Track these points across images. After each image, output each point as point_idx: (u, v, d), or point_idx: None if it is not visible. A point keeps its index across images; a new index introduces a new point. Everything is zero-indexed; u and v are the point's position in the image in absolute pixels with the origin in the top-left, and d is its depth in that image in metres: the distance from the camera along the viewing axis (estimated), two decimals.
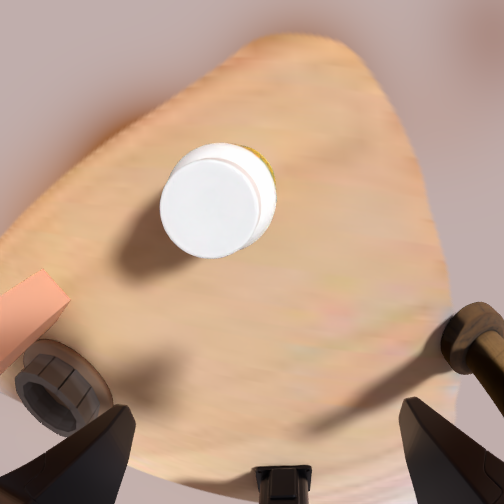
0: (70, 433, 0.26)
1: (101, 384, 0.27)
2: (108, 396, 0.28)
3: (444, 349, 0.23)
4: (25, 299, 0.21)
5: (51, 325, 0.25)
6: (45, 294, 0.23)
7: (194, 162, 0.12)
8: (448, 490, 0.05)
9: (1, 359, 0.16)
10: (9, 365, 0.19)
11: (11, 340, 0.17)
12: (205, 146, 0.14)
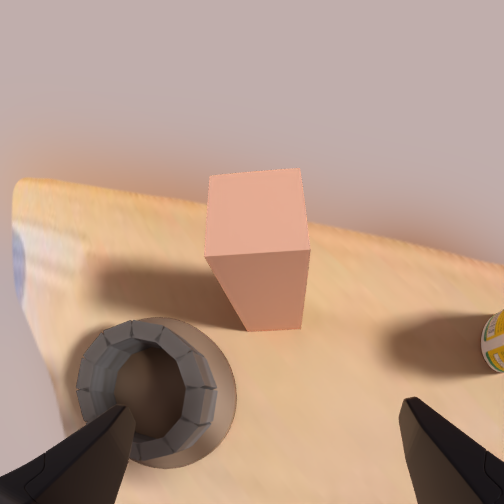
0: None
1: (227, 431, 0.20)
2: (214, 448, 0.19)
3: None
4: None
5: (249, 328, 0.23)
6: None
7: None
8: (448, 490, 0.05)
9: (306, 276, 0.14)
10: (232, 298, 0.17)
11: None
12: None
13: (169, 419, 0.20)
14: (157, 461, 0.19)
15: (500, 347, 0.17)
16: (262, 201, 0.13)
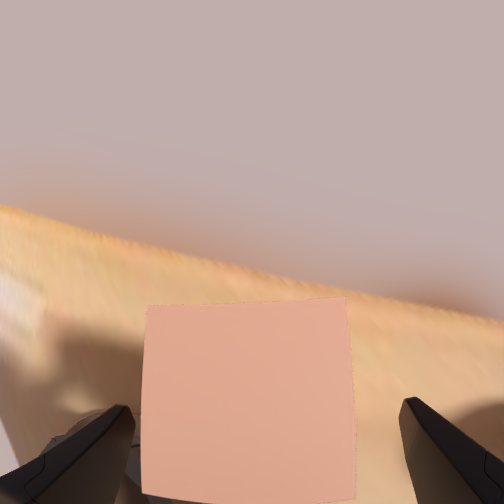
0: None
1: None
2: None
3: None
4: None
5: None
6: None
7: None
8: (448, 490, 0.05)
9: None
10: None
11: None
12: None
13: None
14: None
15: None
16: (258, 388, 0.05)
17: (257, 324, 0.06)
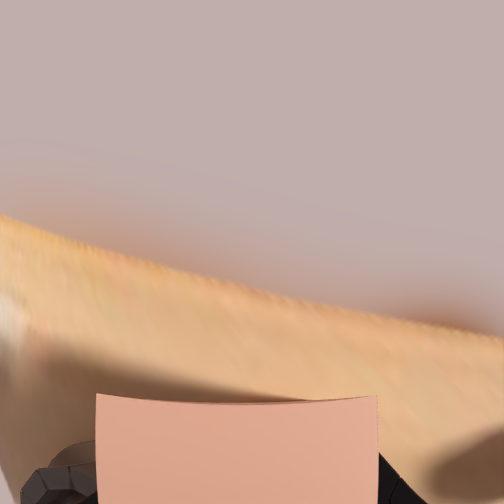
0: None
1: None
2: None
3: None
4: None
5: None
6: None
7: None
8: None
9: None
10: None
11: None
12: None
13: None
14: None
15: None
16: None
17: (246, 436, 0.04)
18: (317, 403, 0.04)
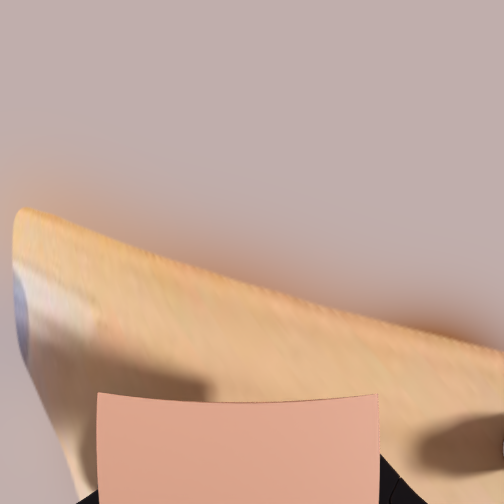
0: None
1: None
2: None
3: None
4: None
5: None
6: None
7: None
8: None
9: None
10: None
11: None
12: None
13: None
14: None
15: None
16: None
17: (248, 435, 0.04)
18: (318, 401, 0.04)
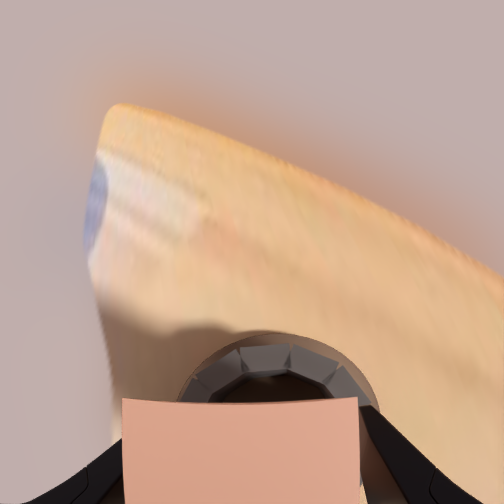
0: None
1: None
2: None
3: None
4: None
5: None
6: None
7: None
8: None
9: None
10: None
11: None
12: None
13: None
14: None
15: None
16: (251, 498, 0.04)
17: (250, 430, 0.04)
18: (308, 403, 0.05)
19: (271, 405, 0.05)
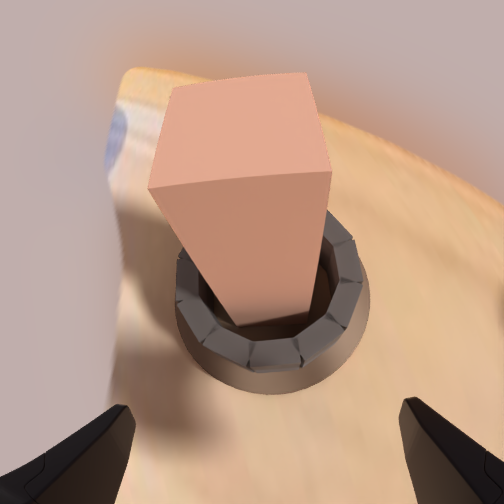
0: (216, 331, 0.15)
1: (348, 357, 0.17)
2: (326, 377, 0.17)
3: None
4: None
5: (240, 323, 0.17)
6: None
7: None
8: (448, 490, 0.05)
9: None
10: (208, 275, 0.11)
11: None
12: None
13: (281, 329, 0.18)
14: (246, 381, 0.17)
15: None
16: (248, 108, 0.08)
17: (247, 84, 0.08)
18: (279, 74, 0.08)
19: (259, 75, 0.08)
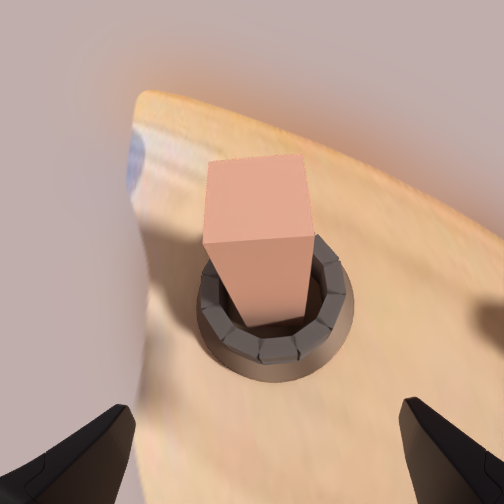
0: (233, 331, 0.19)
1: None
2: (318, 368, 0.21)
3: None
4: None
5: (250, 325, 0.22)
6: None
7: None
8: (448, 490, 0.05)
9: None
10: (232, 291, 0.16)
11: None
12: None
13: (283, 329, 0.23)
14: (255, 371, 0.21)
15: None
16: (263, 186, 0.12)
17: (262, 164, 0.13)
18: (283, 155, 0.13)
19: (270, 156, 0.13)
